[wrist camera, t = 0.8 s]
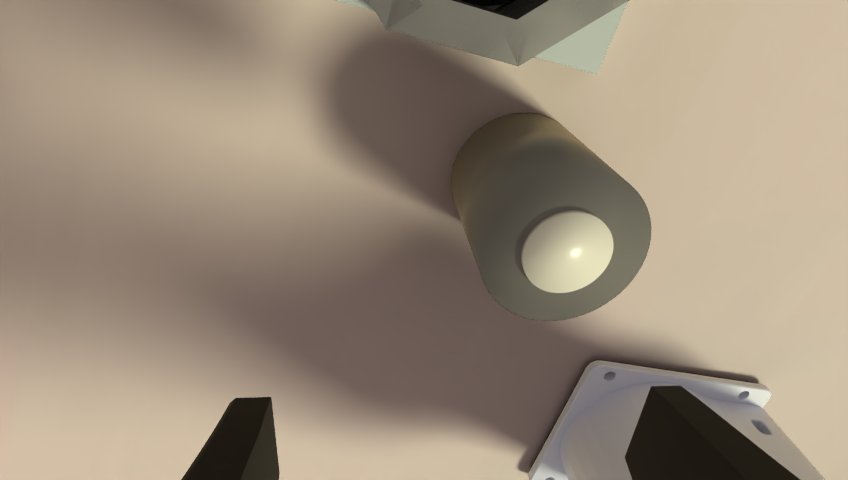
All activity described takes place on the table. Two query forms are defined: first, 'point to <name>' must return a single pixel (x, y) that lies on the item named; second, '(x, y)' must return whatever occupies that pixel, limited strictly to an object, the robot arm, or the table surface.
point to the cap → (547, 218)
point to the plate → (568, 40)
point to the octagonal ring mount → (492, 23)
